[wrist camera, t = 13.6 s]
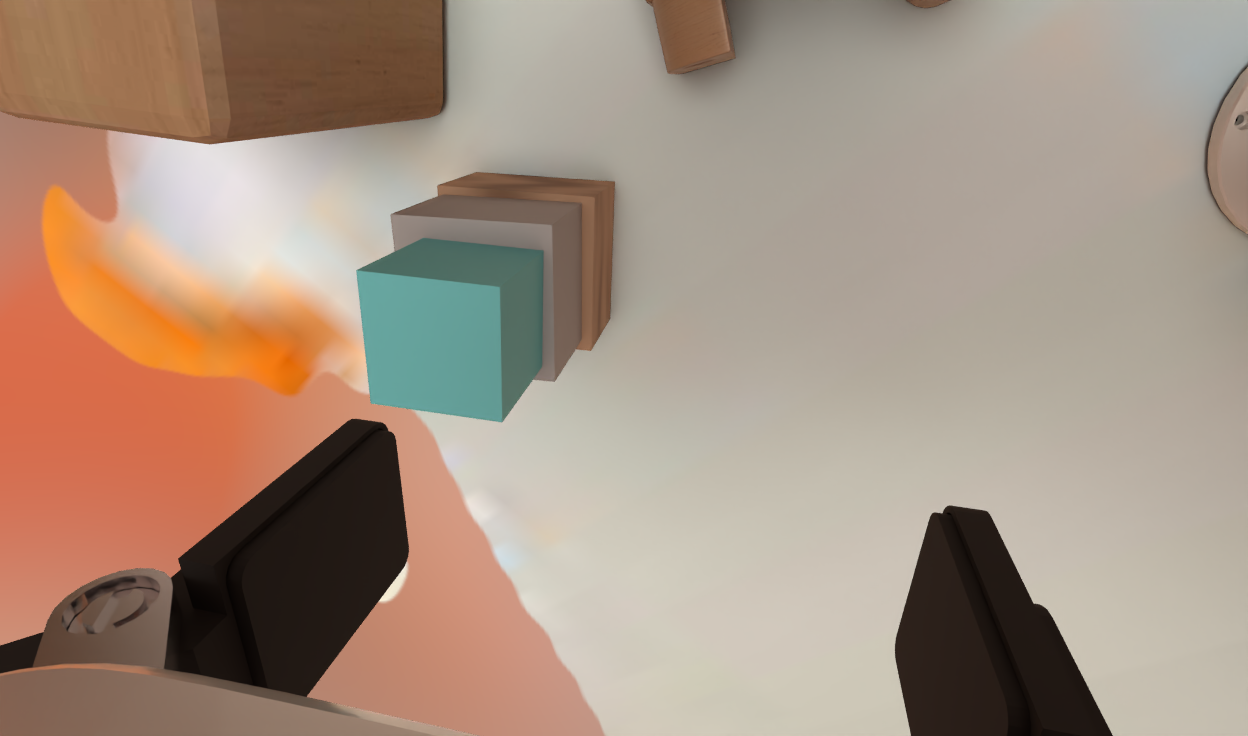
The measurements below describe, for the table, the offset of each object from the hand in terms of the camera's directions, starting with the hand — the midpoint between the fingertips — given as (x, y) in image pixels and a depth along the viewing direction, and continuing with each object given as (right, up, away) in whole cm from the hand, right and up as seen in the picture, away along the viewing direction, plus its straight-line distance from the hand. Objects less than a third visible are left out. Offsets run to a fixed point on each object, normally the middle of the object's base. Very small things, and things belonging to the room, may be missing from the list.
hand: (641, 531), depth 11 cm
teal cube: (-7, +6, +21) cm, 23 cm away
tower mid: (-7, +9, +27) cm, 29 cm away
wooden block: (-16, +24, +28) cm, 40 cm away
